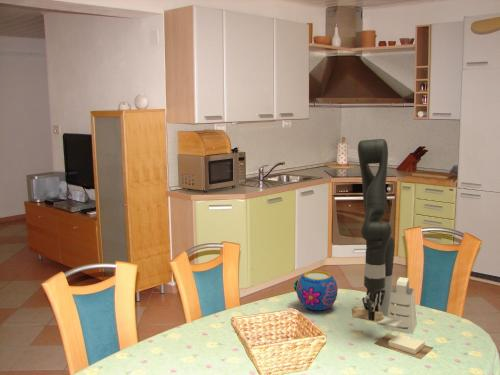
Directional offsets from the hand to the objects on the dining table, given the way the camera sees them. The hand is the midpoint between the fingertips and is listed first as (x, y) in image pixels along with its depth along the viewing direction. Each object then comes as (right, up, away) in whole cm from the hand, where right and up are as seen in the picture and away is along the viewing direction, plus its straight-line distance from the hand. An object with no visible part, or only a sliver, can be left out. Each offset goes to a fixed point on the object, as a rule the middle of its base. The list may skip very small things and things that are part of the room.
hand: (373, 318), depth 197 cm
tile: (+6, -7, -4) cm, 10 cm away
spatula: (+1, -1, -1) cm, 1 cm away
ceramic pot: (-17, -3, +31) cm, 36 cm away
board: (+9, -9, -7) cm, 15 cm away
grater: (+13, -7, +10) cm, 18 cm away
